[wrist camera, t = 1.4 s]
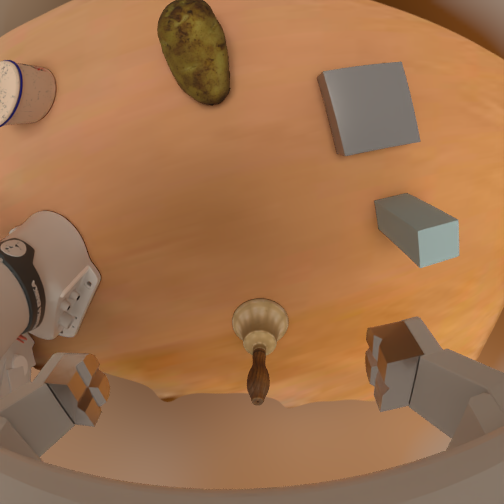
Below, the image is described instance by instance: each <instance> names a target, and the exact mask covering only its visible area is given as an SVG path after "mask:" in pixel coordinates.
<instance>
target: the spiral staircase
mask: <svg viewBox="0 0 504 504" xmlns="http://www.w3.org/2000/svg"><path fill="white" fill-rule="evenodd" d="M22 335H23V336H24V337H26V338H27V340H23V339H21V340H22V341H23V342H24V344H23V343H22V342H20V341H18V340H17V339H16V340H15V341H14V343H13V344H12V345H11V346H10V348H9V349H8V350H7V351H6V353H5V354H4V356H3V357H2V358H1V360H0V399H1V398H3V397H4V396H6V395H8V394H9V393H11V392H13V391H14V390H16V389H18V388H19V387H21V386H23V385H24V384H26V383H28V382H29V381H30V378H31V367H33V366H35V365H36V363H35V359H34V355H33V351H32V347H33V345H34V343H35V342H34V341H33V339H32V338H31V337H30V335H29V334H28V333H25V334H22ZM18 338H19V337H18Z"/></svg>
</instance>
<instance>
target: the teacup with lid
mask: <svg viewBox="0 0 504 504" xmlns="http://www.w3.org/2000/svg"><path fill="white" fill-rule="evenodd" d="M55 92H56V84H55V79H54V77H53V75H52V73H51V72H50V71H49V70H48V69H46V68H43V67H38V66H32V65H26V64H19V63H15V62H14V61H11V60H4V61H1V62H0V127H1V126H3V125H13V124H24V123H34V122H37V121H39V120H40V119H42V118H43V117H44V116H45V115H46V114H47V112H48V111H49V109H50V108H51V106H52V104H53V101H54V97H55Z"/></svg>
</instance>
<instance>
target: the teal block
mask: <svg viewBox="0 0 504 504" xmlns="http://www.w3.org/2000/svg"><path fill="white" fill-rule="evenodd" d="M374 202H375V208H376V215H377V222H378V229H379V230H380V231H381V232H382V233H384V234H385V235H386V236H387V237H388V238H389V239H390V240H391V241H392V242H393V243H394V244H395V245H397V246H398V247H399V248H400V249H401V250H402V251H403V252H404V253H405V254H406V255H407V256H408V257H409V258H410V259H411V260H412V261H413V262H414V263H415V264H416V265H417V266H418V267H419V268H422V267H426V266H429V265H432V264H435V263H438V262H442V261H445V260H448V259H451V258H454V257H457V256H459V225H458V220H457V219H456V218H454V217H452V216H450V215H448V214H447V213H445V212H443V211H441V210H439V209H437V208H435V207H434V206H432V205H430V204H428V203H426V202H424V201H422V200H420V199H418V198H416V197H414V196H412V195H410V194H408V193H405V194H401V195H396V196H392V197H388V198H384V199H379V200H375V201H374Z"/></svg>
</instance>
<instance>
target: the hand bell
mask: <svg viewBox="0 0 504 504" xmlns="http://www.w3.org/2000/svg"><path fill="white" fill-rule="evenodd" d="M232 326H233V329H234V332H235V333H236V335H237V336H238V337H239V338H240V339H241V340H243V345H244V348H245V349H246V351H247V352H248V353H250V354H252V355H253V365H252V368H251V369H250V371H249V374H248V379H247V389H248V392H249V395H250V397H251V401H252V403H253V404H254V405H261V404H262V403H263V402H264V399H265V397H266V395H267V393H268V390H269V383H270V380H269V374H268V371H267V369H266V366H265V358H266V355H268V354H270V353H271V352H273V350H274V349H275V347H276V343H277V341H278V340H279V339H281V338H282V336H283V335H284V334H285V332H286V331H287V328H288V316H287V313H286V312H285V310H284V309H283V308H282V307H281V306H280V305H279V304H277V303H276V302H274V301H271V300H268V299H253V300H249V301H247V302H245V303H243V304H242V305H240V306H239V307H238V308H237V309H236V311H235V312H234V315H233V317H232Z"/></svg>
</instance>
